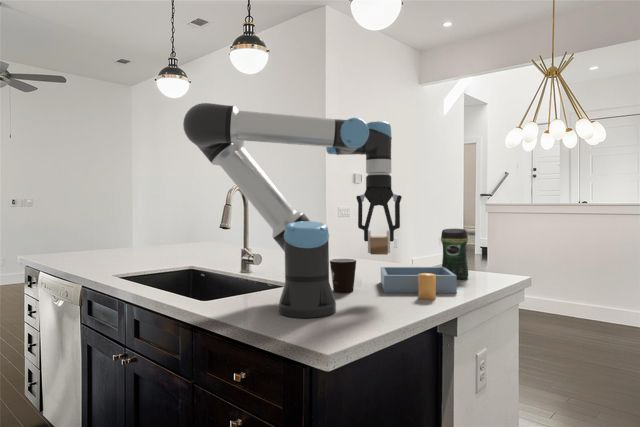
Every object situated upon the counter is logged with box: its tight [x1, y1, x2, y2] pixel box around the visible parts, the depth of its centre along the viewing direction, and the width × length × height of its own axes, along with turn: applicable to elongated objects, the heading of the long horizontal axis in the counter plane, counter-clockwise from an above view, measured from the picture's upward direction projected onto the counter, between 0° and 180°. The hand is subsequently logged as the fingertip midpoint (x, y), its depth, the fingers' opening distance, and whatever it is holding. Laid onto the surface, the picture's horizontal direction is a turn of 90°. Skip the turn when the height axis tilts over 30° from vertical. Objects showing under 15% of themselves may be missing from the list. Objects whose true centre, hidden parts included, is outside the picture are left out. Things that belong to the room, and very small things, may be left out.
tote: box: [380, 266, 458, 294], centre depth 144 cm, size 18×22×6 cm
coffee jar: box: [440, 228, 469, 280], centre depth 162 cm, size 10×8×19 cm
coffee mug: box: [329, 258, 357, 294], centre depth 141 cm, size 12×9×10 cm
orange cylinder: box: [417, 273, 437, 301], centre depth 128 cm, size 5×5×7 cm
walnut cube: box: [369, 235, 389, 256], centre depth 129 cm, size 5×5×5 cm
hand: (378, 252), depth 129 cm, fingers closed on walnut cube, 5 cm apart
